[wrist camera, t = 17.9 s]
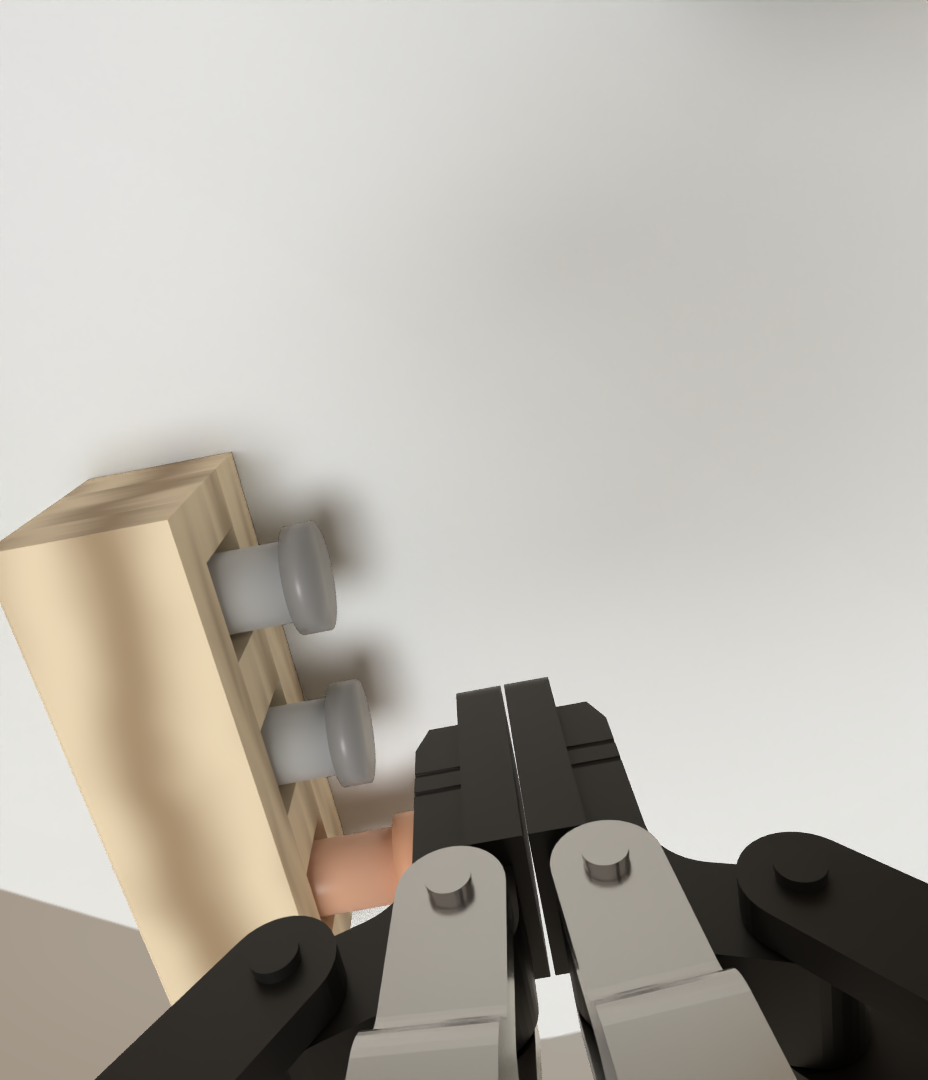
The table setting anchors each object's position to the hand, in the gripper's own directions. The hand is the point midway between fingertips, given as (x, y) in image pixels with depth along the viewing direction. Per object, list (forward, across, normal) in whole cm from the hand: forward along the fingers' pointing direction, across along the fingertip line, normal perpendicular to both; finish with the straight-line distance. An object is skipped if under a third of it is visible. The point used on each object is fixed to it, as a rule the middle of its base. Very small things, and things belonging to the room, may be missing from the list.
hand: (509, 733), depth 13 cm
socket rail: (+27, +14, +13) cm, 33 cm away
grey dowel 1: (+24, +13, +5) cm, 28 cm away
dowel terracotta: (+24, +11, +21) cm, 34 cm away
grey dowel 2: (+24, +13, +13) cm, 30 cm away
